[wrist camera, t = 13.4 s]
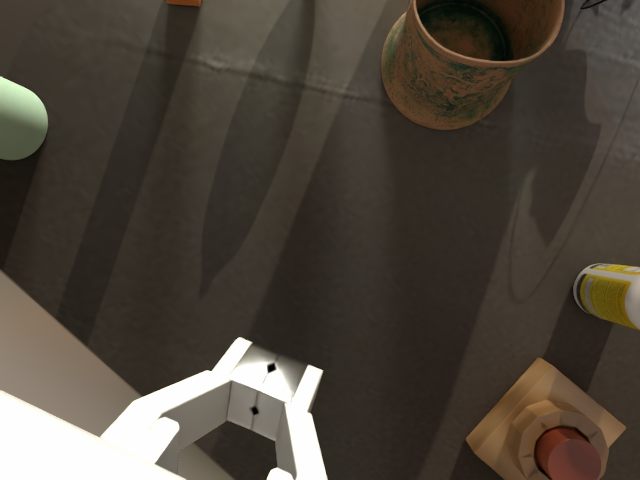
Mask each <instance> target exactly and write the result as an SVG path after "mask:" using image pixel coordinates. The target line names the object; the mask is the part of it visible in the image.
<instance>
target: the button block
mask: <svg viewBox="0 0 640 480" xmlns="http://www.w3.org/2000/svg"><path fill="white" fill-rule="evenodd" d="M555 427H566V428H569V429H572V430H574V431H575V432H577V433H578V434H579V435H580V436H582V437H583V438H584V439H585V440H586V441H588V442H589V443H590V444H591V445H592V446H593V447H595V449H596V450H597V452H598V453H599V455H600V458H601V472H600V475H599V477H598V479H597V480H599V479H600V478H601V477H602V476H603V475H604V473H605V469H606V464H607V459H608V454H609V449H608V448H609V447H610V446H611V445H612V443H613V442H614V441H615V440H616V439H617V438H618V437H619V436H620V435H621V434H622V433H623V431H624V430H625V429H626V427H625V426H624V425H623V424H622V423H620V422H619V421H618V420H617V419H616V418H614V417H613V416H612V415H611V414H610V413H609V412H607V411H606V410H605V409H604V408H603V407H601V406H600V405H599V404H598V403H597V402H595V401H594V400H593V399H592V398H591V397H590V396H588V395H587V394H586V393H585V392H584V391H582V390H581V389H580V388H579V387H578V386H576V385H575V384H574V383H573V382H572V381H571V380H569V379H568V378H567V377H566V376H565V375H563V374H562V373H561V372H560V371H559V370H557V369H556V368H555V367H554V366H552V365H551V364H549V363H548V362H546V361H544V360H543V359H541V358H539V357H538V358H537V359H536V360H535V362H534V363H533V364H532V365H531V366H530V367H529V368H528V369H527V370H526V372H525V373H524V374H523V375H522V376H521V377H520V378H519V379H518V381H517V382H516V383H515V384H514V385H513V386H512V387H511V388H510V389H509V391H508V392H507V393H506V394H505V395H504V396H503V397H502V398H501V399H500V401H499V402H498V403H497V404H496V405H495V406H494V407H493V408H492V410H491V411H490V412H489V413H488V414H487V415H486V416H485V417H484V418H483V420H482V421H481V422H480V423H479V424H478V425H477V426H476V427H475V428H474V430H473V431H472V432H471V433H470V434H469V435H468V436H467V437H466V439H465V440H466V441H467V443H468V444H469V446H470V448H471V449H472V451H473V452H474V454H475V455H476V456H478V457H479V458H480V459H481V460H482V461H484V462H485V463H486V464H487V465H488V466H489V467H491V468H492V469H493V470H494V471H495V472H496V473H498V474H499V475H500V476H501V477H502V478H503V479H505V480H552V479H551V478H550V477H549V475H548V474H547V473H546V472H545V471H544V470H543V469H542V467H541V466H540V465H539V463H538V461H537V459H536V455H535V447H536V443H537V441H538V439H539V437H540V436H541V435H542V434H543V433H544V432H546V431H547V430H549V429H551V428H555Z"/></svg>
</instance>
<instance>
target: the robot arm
mask: <svg viewBox="0 0 640 480" xmlns="http://www.w3.org/2000/svg"><path fill="white" fill-rule="evenodd" d="M322 374H323V370H321V369H318V368H315V367H313V366H310V365H308V364H306V363H303V362H300V361H298V360H295V359H293V358H290V357H287V356H285V355H282V354H279V353H276V352H274V351H272V350H269V349H267V348H265V347H262V346H260V345H258V344H255V343H252V342H250V341H248V340H245V339H243V338H241V337H239V338H237V339H236V340H235V341H234V343H233V344H232V345H231V346H230V348H229V349H228V350H227V352H226V353H225V354H224V356H223V357H222V358H221V360H220V361H219V362H218V364H217V365H216V366H215V367H214V369H213V370H212V371H208V370H206V371H204V372H202V373H199V374H197V375H194V376H192V377H190V378H187V379H185V380H182V381H180V382H178V383H175V384H173V385H170V386H168V387H166V388H163V389H161V390H159V391H156V392H154V393H151V394H149V395H147V396H144V397H142V398H139V399H137V400H135V401H133V402H132V403H131V404H130V405H129V407H128V408H127V409H126V410H125V411H124V412H123V413H122V414H121V415H120V416H119V417H118V418H117V419H116V421H115V422H114V423H113V424H112V425H111V426H110V427H109V428H108V429H107V430H106V431H105V432H104V433H103V435H102V436H101V437H100V438H99V437H97V436H95V435H93V434H91V433H89V432H87V431H85V430H83V429H81V428H79V427H77V426H74V425H72V424H70V423H68V422H66V421H64V420H62V419H60V418H58V417H55V416H54V415H51V414H50V413H47V412H45V411H43V410H41V409H39V408H37V407H35V406H33V405H31V404H29V403H26V402H25V401H23V400H21V399H18V398H16V397H14V396H12V395H10V394H8V393H6V392H4V391H2V390H0V480H187V479H184V478H183V477H180V476H178V452H179V451H180V450H182V449H183V448H185V447H187V446H188V445H190V444H191V443H193V442H194V441H196V440H198V439H199V438H201V437H202V436H204V435H205V434H207V433H209V432H210V431H212V430H213V429H215V428H216V427H218V426H219V425H221V424H223V423H224V422H226V420H228V421H231V422H233V423H236V424H238V425H241V426H243V427H246V428H248V429H250V430H253V431H255V432H257V433H259V434H261V435H263V436H265V437H267V438H269V439H271V440H274V441H276V442H275V446H276V456H277V467H278V468H275V469H272V470H271V471H270V473H269V475H268V477H267V480H327V476H326V472H325V467H324V463H323V459H322V455H321V451H320V447H319V443H318V439H317V434H316V430H315V426H314V422H313V418H312V414H310V412H311V409H312V406H313V403H314V400H315V397H316V394H317V390H318V387H319V384H320V381H321V377H322Z"/></svg>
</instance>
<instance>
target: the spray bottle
mask: <svg viewBox="0 0 640 480" xmlns="http://www.w3.org/2000/svg"><path fill="white" fill-rule="evenodd" d="M47 128H48V118H47V113H46V110H45V107H44V105H43V103H42V102H41V101H40V99H39V98H38V97H37V96H36V95H35V94H34V93H33V92H31V91H30V90H28V89H26V88H24V87H22V86H20V85H17V84H15V83H13V82H11V81H9V80H7V79H5V78H2V77H0V159H5V160H19V159H23V158H26V157H28V156H30V155H31V154H33V153H34V152H35V151H36V150H37V149H38V148H39V147H40V146H41V144H42V143H43V141H44V139H45V137H46V133H47Z"/></svg>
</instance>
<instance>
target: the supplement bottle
mask: <svg viewBox="0 0 640 480" xmlns="http://www.w3.org/2000/svg"><path fill="white" fill-rule="evenodd" d="M573 294H574V298H575V300H576V302H577V304H578V305H579V307H580V308H581V309H582V310H584V311H585V312H586V313H588V314H590V315H592V316H595V317H598V318H601V319H605V320H608V321H611V322H614V323H617V324H620V325H624V326H627V327H630V328H633V329H636V330H639V331H640V267H632V266H623V265H614V264H605V263H599V264H594V265H591V266H588V267H587V268H585V269H584V270H583V271H582V272H581V273H580V274H579V275H578V276H577V278H576V280H575V282H574V286H573Z"/></svg>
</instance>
